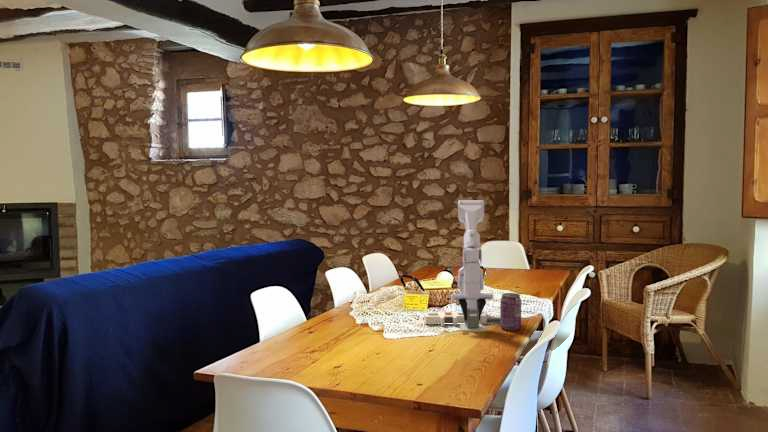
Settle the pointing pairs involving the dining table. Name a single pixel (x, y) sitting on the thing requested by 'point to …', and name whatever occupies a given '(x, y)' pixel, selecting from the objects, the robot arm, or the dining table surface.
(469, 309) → the block
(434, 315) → the power strip
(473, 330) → the coaster
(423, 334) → the dining table surface
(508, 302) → the beverage can
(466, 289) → the robot arm
